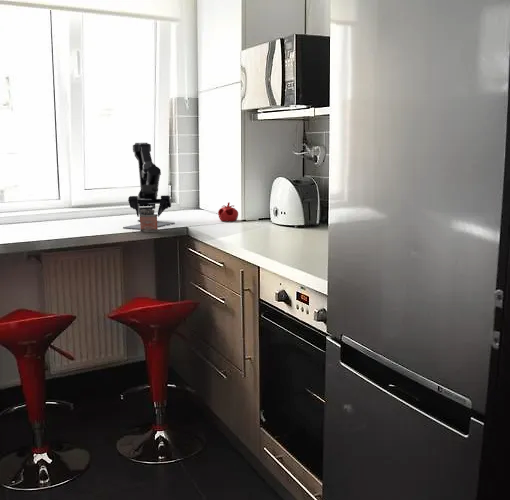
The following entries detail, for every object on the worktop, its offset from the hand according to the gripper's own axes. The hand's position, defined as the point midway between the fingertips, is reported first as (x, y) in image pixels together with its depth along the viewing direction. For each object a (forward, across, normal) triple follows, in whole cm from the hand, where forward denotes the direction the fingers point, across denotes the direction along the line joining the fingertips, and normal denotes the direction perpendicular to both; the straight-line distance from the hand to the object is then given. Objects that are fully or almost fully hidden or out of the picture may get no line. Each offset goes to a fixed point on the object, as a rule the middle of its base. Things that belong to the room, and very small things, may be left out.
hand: (147, 216), depth 267 cm
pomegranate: (-17, +34, +27) cm, 47 cm away
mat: (-7, -3, +17) cm, 18 cm away
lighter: (+4, 0, +6) cm, 7 cm away
